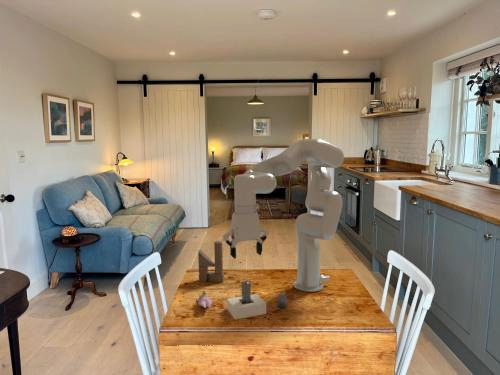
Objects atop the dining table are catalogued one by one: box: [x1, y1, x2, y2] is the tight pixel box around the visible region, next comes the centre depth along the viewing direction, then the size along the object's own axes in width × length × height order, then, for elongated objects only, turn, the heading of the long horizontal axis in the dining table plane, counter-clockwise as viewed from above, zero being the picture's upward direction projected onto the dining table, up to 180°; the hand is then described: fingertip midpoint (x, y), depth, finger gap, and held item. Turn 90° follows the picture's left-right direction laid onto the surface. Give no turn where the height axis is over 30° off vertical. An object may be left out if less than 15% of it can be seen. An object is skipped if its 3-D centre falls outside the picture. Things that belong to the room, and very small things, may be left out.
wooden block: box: [197, 240, 225, 283], centre depth 168 cm, size 4×11×18 cm, turn 85°
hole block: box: [226, 293, 267, 320], centre depth 138 cm, size 12×9×4 cm
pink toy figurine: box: [195, 289, 213, 309], centre depth 143 cm, size 6×6×15 cm
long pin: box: [241, 280, 252, 304], centre depth 138 cm, size 3×3×11 cm
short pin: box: [277, 293, 288, 310], centre depth 142 cm, size 3×3×4 cm
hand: (246, 255), depth 136 cm, fingers open, 9 cm apart
